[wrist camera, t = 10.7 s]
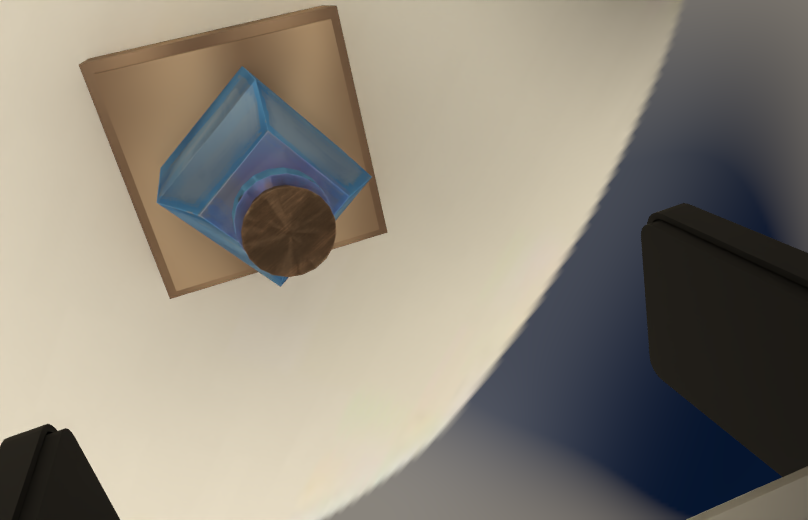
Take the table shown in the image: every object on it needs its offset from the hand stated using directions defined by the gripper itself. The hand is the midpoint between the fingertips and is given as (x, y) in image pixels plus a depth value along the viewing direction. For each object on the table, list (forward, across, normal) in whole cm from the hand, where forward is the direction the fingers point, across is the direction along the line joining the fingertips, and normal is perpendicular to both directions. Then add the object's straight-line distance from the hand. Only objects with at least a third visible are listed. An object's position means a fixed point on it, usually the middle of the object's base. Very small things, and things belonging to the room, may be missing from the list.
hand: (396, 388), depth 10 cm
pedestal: (+28, +1, +2) cm, 28 cm away
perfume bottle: (+25, 0, +2) cm, 25 cm away
